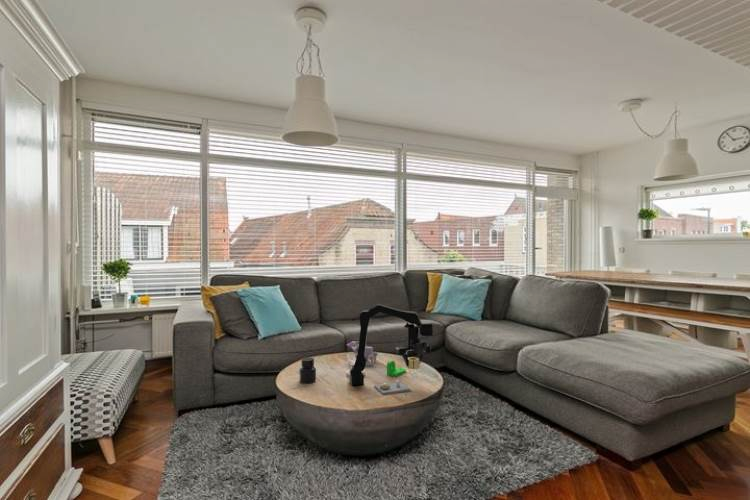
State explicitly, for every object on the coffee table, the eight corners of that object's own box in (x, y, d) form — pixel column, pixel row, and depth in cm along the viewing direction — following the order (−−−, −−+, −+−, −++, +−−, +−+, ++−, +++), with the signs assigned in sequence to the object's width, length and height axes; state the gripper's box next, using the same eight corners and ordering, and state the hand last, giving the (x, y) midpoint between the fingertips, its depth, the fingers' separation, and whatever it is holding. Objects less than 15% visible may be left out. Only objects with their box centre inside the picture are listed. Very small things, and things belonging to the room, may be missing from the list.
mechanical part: (395, 377, 232) (395, 363, 232) (386, 375, 236) (386, 361, 236) (407, 372, 241) (407, 358, 241) (399, 370, 245) (399, 357, 245)
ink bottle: (307, 377, 232) (307, 355, 231) (319, 379, 227) (319, 358, 227) (295, 382, 223) (295, 359, 223) (308, 384, 219) (308, 362, 219)
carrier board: (383, 394, 204) (383, 386, 204) (374, 387, 215) (374, 379, 215) (410, 390, 209) (410, 382, 209) (400, 383, 220) (400, 376, 220)
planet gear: (410, 369, 212) (410, 361, 212) (404, 366, 218) (404, 358, 218) (421, 368, 215) (421, 359, 215) (415, 365, 221) (415, 356, 221)
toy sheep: (342, 364, 257) (342, 342, 257) (349, 360, 267) (349, 339, 267) (372, 367, 250) (372, 345, 250) (378, 363, 260) (378, 341, 260)
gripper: (403, 340, 206) (403, 371, 206) (436, 337, 213) (436, 367, 213) (394, 336, 216) (394, 365, 216) (425, 333, 223) (425, 362, 223)
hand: (412, 365), depth 217 cm, fingers closed on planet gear, 6 cm apart
